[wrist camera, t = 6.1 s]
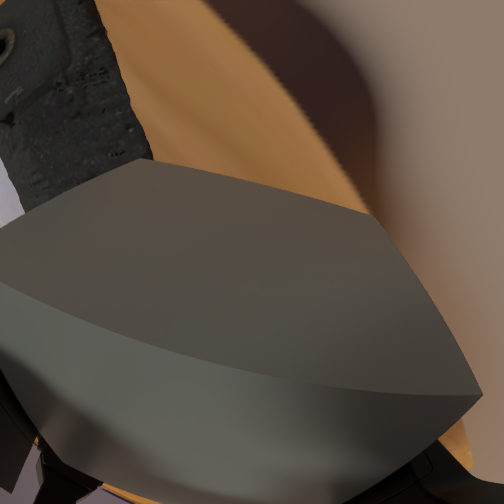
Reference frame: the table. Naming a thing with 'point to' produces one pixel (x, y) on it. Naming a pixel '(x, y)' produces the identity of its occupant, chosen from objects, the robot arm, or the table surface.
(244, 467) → the grey angular block
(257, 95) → the table surface
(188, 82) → the table surface
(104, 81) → the dark slate chunk
